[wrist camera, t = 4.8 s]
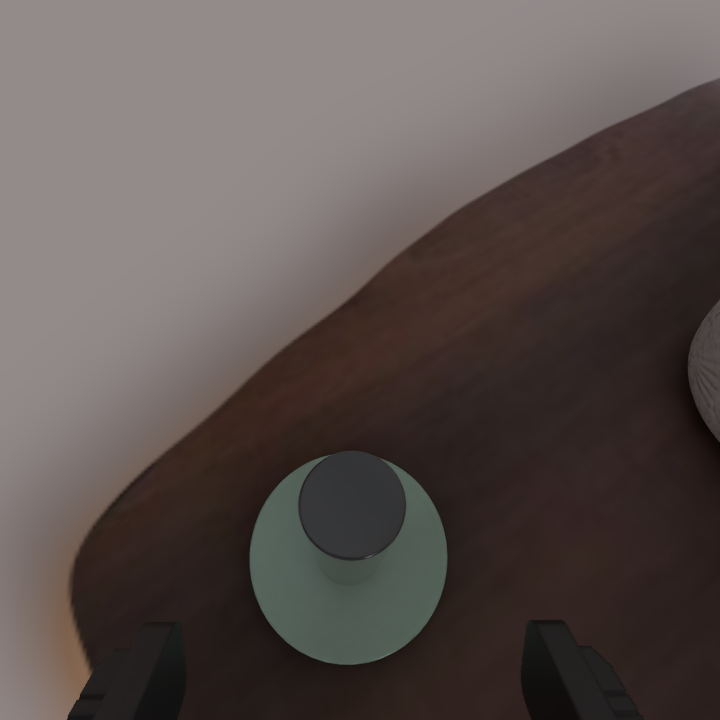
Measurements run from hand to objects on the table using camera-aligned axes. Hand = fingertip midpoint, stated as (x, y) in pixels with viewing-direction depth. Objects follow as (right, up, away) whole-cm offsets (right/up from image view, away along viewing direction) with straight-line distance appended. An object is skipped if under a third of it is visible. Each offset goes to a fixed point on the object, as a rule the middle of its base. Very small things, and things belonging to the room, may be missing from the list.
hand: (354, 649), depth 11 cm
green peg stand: (0, -1, +9) cm, 9 cm away
